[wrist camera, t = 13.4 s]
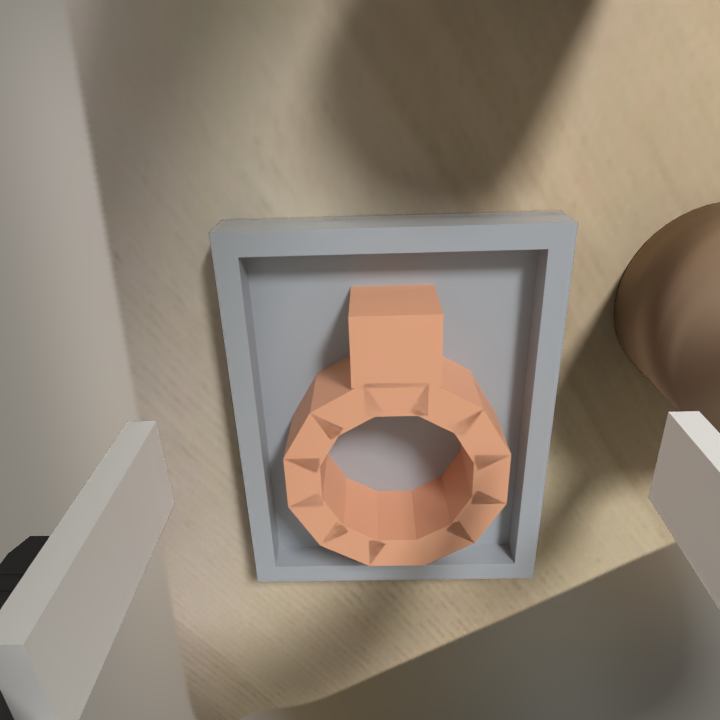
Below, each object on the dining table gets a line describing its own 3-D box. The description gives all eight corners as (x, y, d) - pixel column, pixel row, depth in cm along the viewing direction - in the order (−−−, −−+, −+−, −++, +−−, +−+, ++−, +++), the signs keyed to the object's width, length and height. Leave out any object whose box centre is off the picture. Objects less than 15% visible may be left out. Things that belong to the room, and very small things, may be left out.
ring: (487, 513, 30) (500, 564, 27) (302, 516, 30) (294, 567, 27) (504, 282, 25) (524, 312, 22) (281, 288, 25) (268, 318, 22)
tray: (221, 219, 25) (209, 232, 23) (560, 210, 24) (578, 222, 22) (264, 550, 32) (257, 581, 30) (522, 547, 32) (532, 578, 30)
